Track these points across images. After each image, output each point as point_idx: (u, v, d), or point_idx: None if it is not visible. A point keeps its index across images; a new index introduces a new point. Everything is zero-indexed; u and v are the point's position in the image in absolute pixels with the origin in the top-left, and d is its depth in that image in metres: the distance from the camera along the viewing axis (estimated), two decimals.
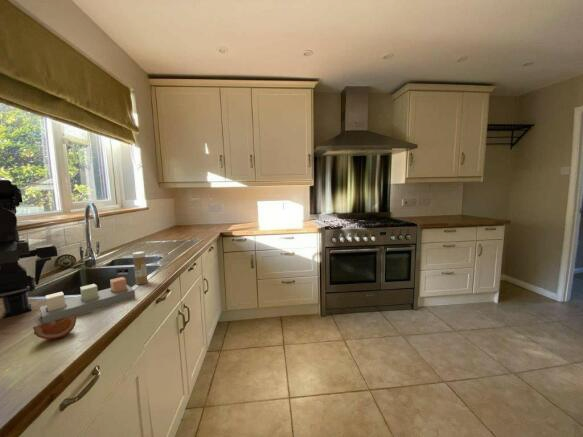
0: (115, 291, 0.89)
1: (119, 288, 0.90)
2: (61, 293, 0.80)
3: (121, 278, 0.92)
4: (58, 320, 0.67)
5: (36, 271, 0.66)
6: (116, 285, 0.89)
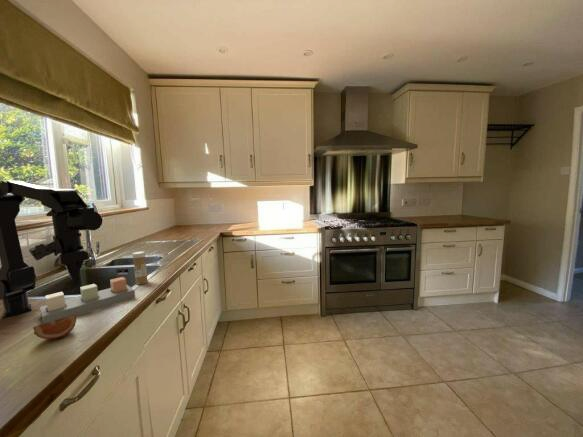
0: (115, 291, 0.89)
1: (119, 288, 0.90)
2: (61, 293, 0.80)
3: (121, 278, 0.92)
4: (58, 320, 0.67)
5: None
6: (116, 285, 0.89)
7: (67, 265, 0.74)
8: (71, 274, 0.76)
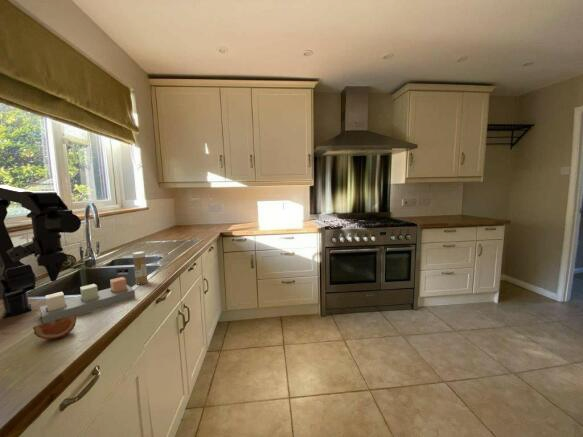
0: (115, 291, 0.89)
1: (119, 288, 0.90)
2: (61, 293, 0.80)
3: (121, 278, 0.92)
4: (58, 320, 0.67)
5: None
6: (116, 285, 0.89)
7: (46, 266, 0.75)
8: (50, 275, 0.77)
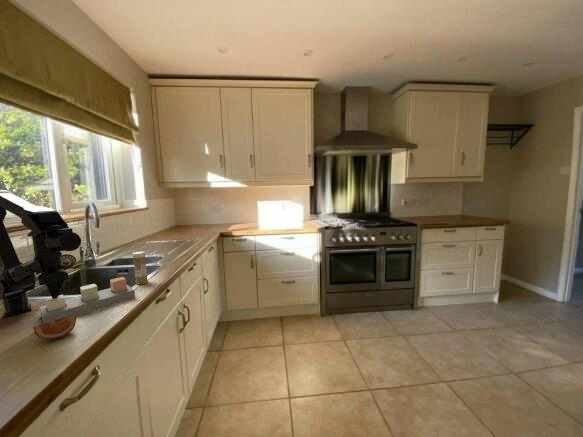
0: (115, 291, 0.89)
1: (119, 288, 0.90)
2: (61, 296, 0.80)
3: (121, 278, 0.92)
4: (58, 320, 0.67)
5: None
6: (116, 285, 0.89)
7: (47, 284, 0.76)
8: (52, 293, 0.77)
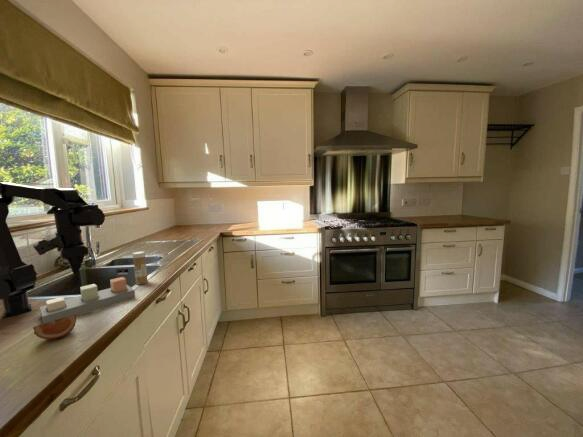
0: (115, 291, 0.89)
1: (119, 288, 0.90)
2: (62, 298, 0.80)
3: (121, 278, 0.92)
4: (58, 320, 0.67)
5: None
6: (116, 285, 0.89)
7: (69, 260, 0.79)
8: (73, 268, 0.81)
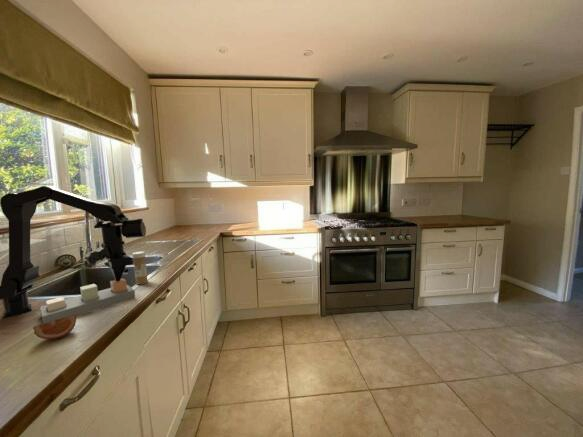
0: (115, 292, 0.89)
1: (119, 289, 0.90)
2: (62, 298, 0.80)
3: (121, 279, 0.92)
4: (58, 320, 0.67)
5: None
6: (116, 286, 0.89)
7: (113, 268, 0.88)
8: (116, 276, 0.90)
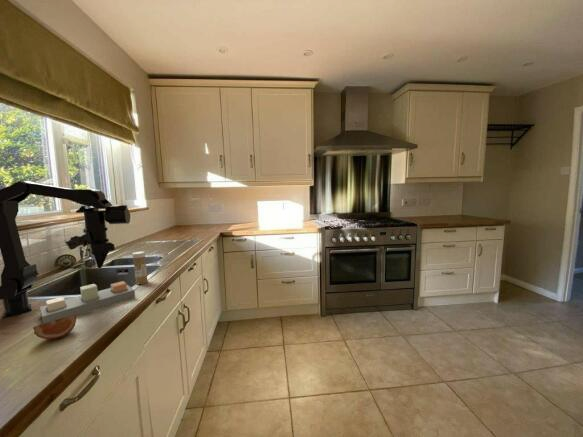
0: None
1: None
2: (62, 298, 0.80)
3: (122, 282, 0.92)
4: (58, 320, 0.67)
5: None
6: (116, 289, 0.89)
7: (95, 255, 0.87)
8: (98, 263, 0.88)
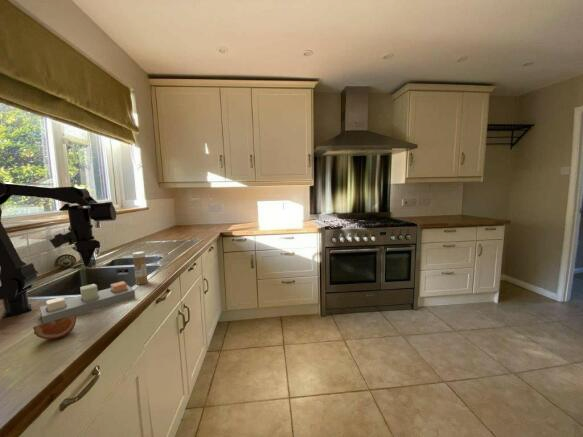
0: None
1: None
2: (62, 298, 0.80)
3: (122, 282, 0.92)
4: (58, 320, 0.67)
5: None
6: (116, 289, 0.89)
7: (81, 252, 0.86)
8: (84, 261, 0.88)
